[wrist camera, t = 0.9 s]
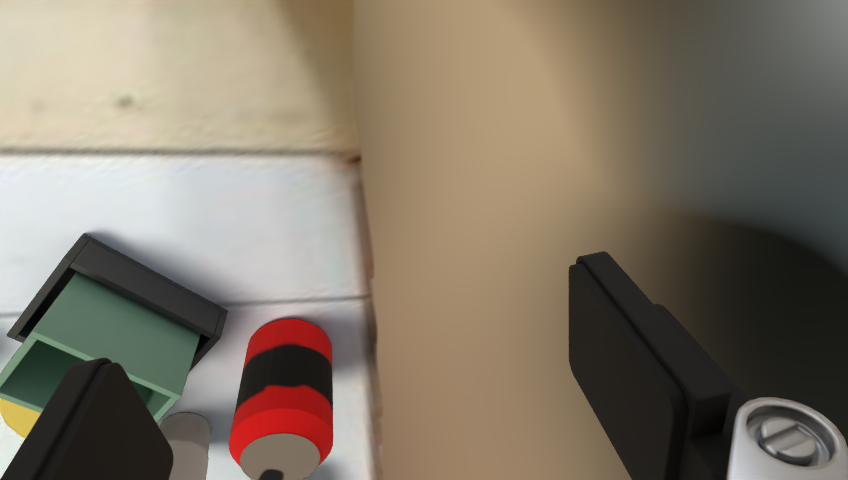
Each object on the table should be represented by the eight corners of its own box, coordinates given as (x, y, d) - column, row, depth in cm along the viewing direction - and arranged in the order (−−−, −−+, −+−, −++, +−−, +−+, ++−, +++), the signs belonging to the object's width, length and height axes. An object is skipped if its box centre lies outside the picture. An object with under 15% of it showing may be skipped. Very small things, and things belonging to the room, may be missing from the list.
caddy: (48, 309, 42) (-15, 392, 34) (89, 255, 40) (32, 331, 32) (165, 363, 46) (133, 448, 38) (206, 316, 44) (181, 396, 37)
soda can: (238, 370, 48) (214, 486, 38) (260, 307, 45) (241, 415, 35) (316, 385, 51) (314, 498, 41) (343, 327, 48) (347, 433, 38)
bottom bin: (28, 307, 42) (5, 336, 39) (84, 232, 40) (64, 256, 37) (172, 373, 47) (161, 402, 44) (228, 311, 45) (221, 337, 42)
